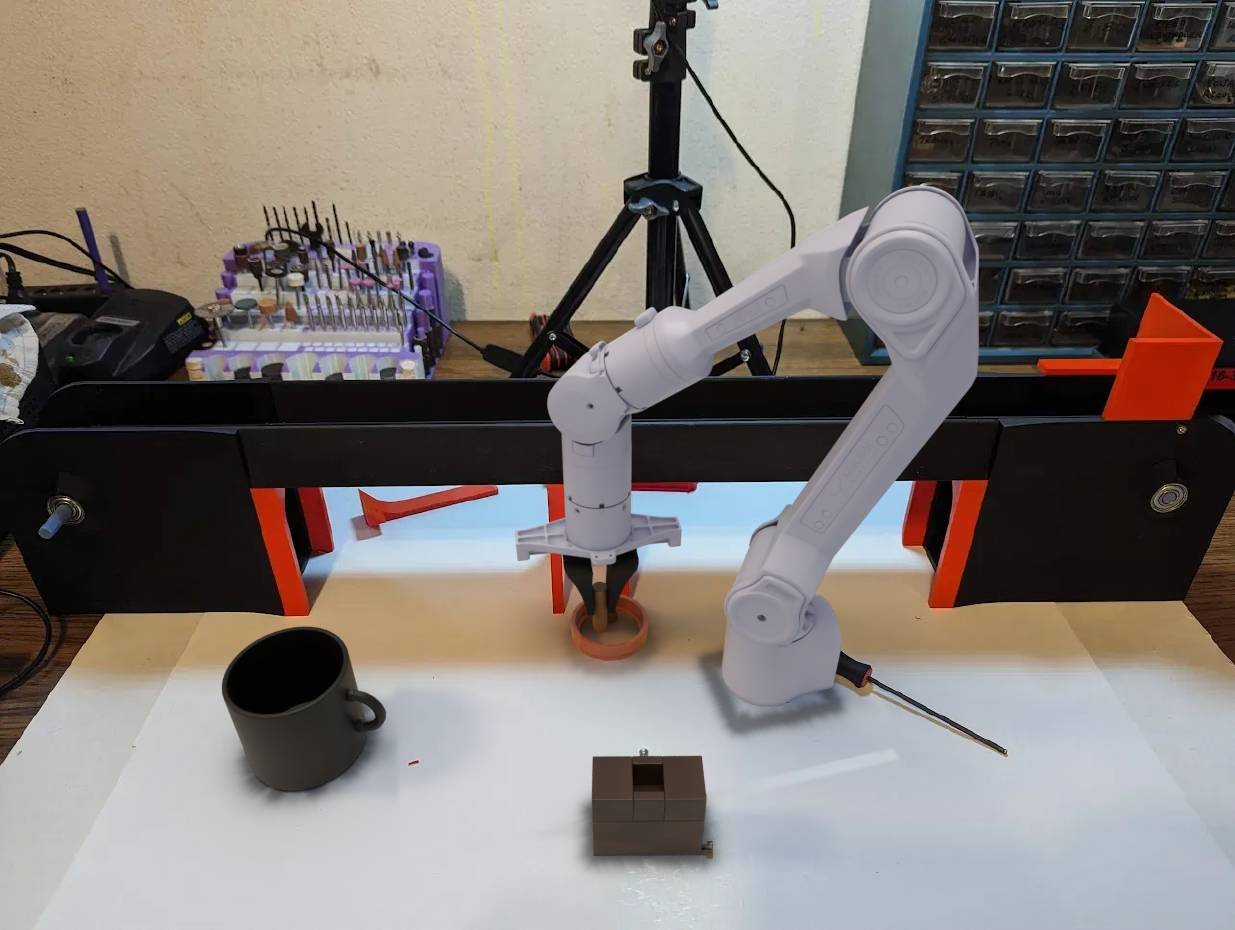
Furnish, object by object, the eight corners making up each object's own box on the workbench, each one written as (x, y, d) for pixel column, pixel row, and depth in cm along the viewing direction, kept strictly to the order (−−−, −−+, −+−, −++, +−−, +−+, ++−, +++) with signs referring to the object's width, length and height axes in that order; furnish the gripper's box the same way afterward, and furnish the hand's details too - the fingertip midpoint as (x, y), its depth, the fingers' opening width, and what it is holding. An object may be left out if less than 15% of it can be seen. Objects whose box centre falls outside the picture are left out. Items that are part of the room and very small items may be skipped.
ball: (612, 622, 80) (616, 605, 80) (617, 630, 78) (621, 612, 78) (594, 620, 79) (598, 603, 79) (599, 627, 77) (604, 610, 77)
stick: (606, 625, 78) (606, 580, 75) (608, 635, 77) (608, 590, 74) (592, 626, 78) (591, 581, 75) (593, 636, 77) (593, 592, 74)
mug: (374, 801, 63) (353, 726, 58) (228, 787, 64) (196, 712, 59) (412, 706, 71) (396, 632, 66) (281, 694, 72) (257, 621, 67)
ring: (635, 609, 81) (636, 587, 80) (656, 662, 75) (657, 639, 74) (565, 622, 80) (564, 599, 78) (581, 677, 74) (580, 654, 72)
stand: (696, 810, 63) (702, 755, 59) (701, 855, 60) (706, 799, 56) (594, 811, 63) (592, 756, 59) (593, 855, 60) (591, 800, 56)
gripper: (513, 525, 64) (524, 646, 72) (691, 509, 66) (684, 629, 73) (510, 475, 70) (521, 592, 78) (674, 462, 72) (669, 578, 79)
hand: (599, 607), depth 76 cm, fingers closed on stick, 1 cm apart
